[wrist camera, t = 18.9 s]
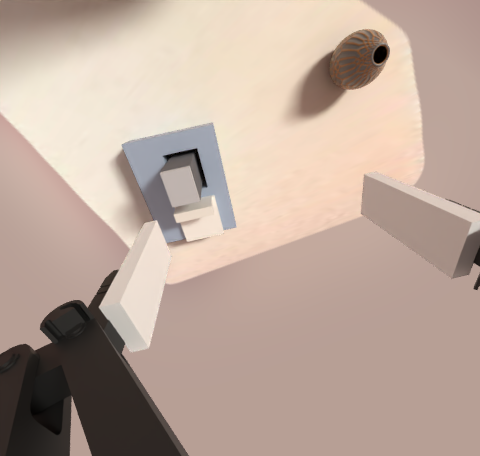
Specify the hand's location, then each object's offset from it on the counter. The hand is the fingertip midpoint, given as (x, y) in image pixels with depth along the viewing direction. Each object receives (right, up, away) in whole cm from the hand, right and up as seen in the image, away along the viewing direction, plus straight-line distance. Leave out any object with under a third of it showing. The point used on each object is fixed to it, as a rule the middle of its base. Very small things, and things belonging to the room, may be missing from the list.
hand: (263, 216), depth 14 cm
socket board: (-11, +7, +27) cm, 30 cm away
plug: (-11, +10, +26) cm, 30 cm away
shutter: (-9, +1, +27) cm, 28 cm away
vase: (+15, +25, +22) cm, 36 cm away
